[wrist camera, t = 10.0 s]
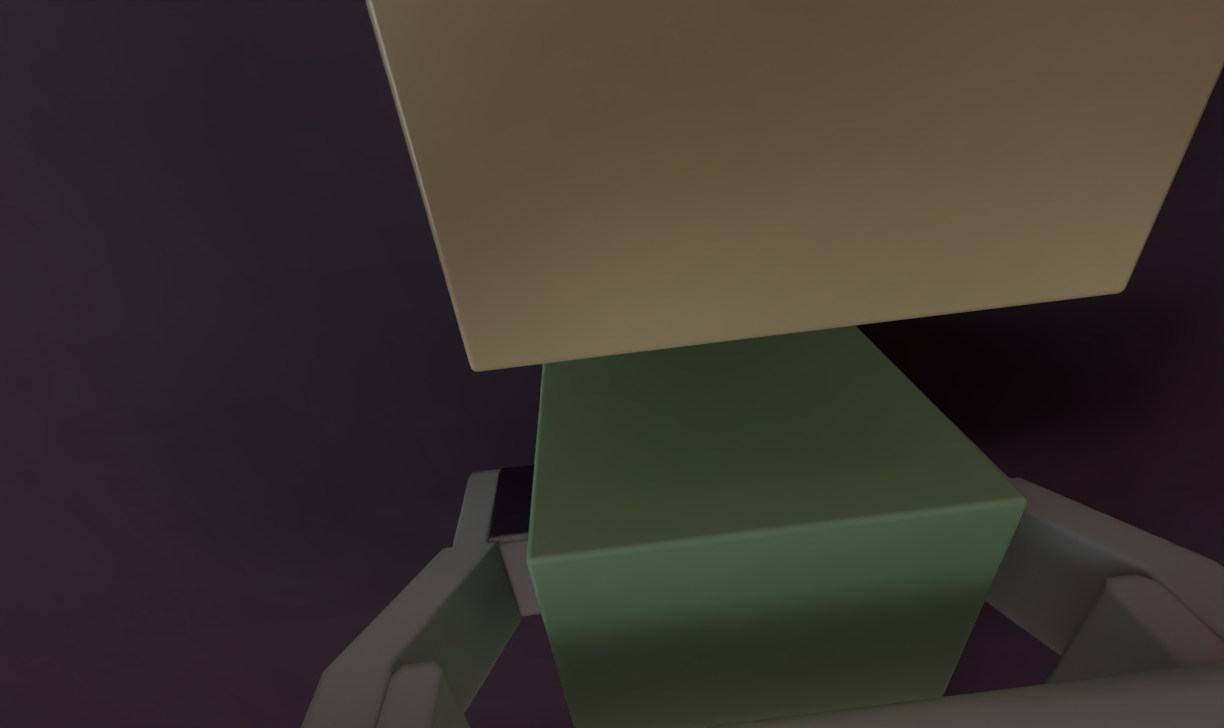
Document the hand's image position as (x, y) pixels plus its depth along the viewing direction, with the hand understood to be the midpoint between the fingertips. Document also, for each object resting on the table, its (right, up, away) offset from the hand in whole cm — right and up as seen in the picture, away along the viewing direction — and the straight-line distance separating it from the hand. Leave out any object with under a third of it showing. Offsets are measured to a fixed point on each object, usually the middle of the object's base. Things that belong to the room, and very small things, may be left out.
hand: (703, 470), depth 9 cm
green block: (0, +1, +1) cm, 2 cm away
